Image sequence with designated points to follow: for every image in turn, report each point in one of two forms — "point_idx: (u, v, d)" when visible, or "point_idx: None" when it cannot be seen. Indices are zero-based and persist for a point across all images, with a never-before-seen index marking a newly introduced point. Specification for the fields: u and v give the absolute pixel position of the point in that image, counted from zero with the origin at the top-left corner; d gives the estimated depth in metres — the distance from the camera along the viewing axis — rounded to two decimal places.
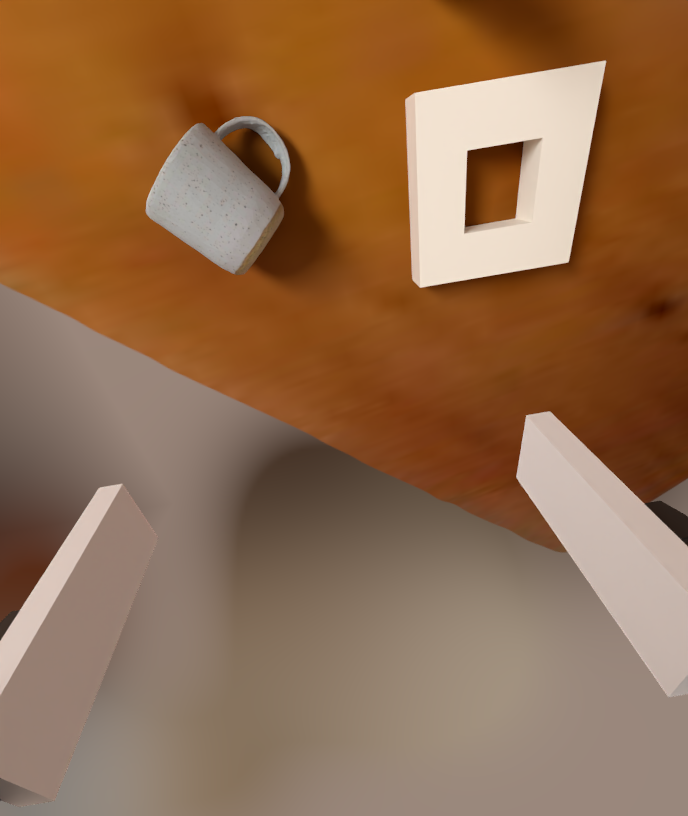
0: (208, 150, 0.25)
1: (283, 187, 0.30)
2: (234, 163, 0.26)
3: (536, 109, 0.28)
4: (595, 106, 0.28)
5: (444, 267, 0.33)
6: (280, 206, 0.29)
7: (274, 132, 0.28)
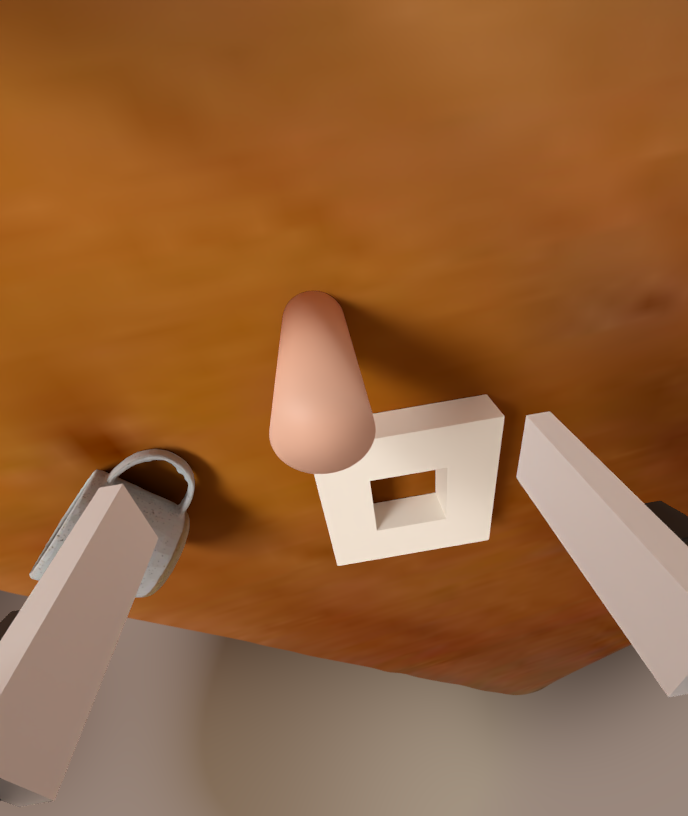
0: None
1: (187, 505, 0.29)
2: None
3: (437, 451, 0.27)
4: (498, 445, 0.27)
5: (360, 551, 0.33)
6: (180, 538, 0.28)
7: (173, 462, 0.27)
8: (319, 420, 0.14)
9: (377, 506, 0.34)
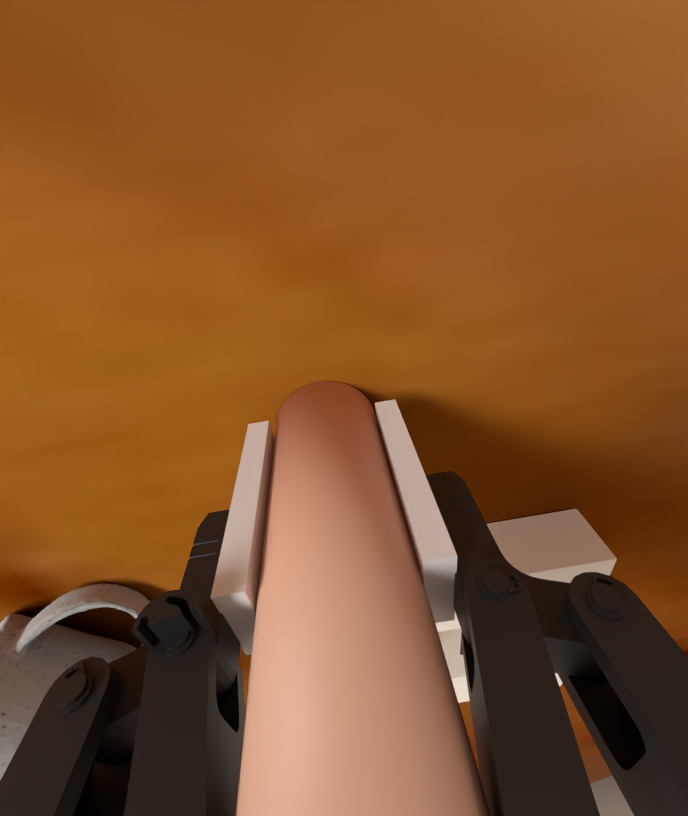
0: None
1: None
2: None
3: None
4: None
5: None
6: None
7: (122, 608, 0.18)
8: None
9: None
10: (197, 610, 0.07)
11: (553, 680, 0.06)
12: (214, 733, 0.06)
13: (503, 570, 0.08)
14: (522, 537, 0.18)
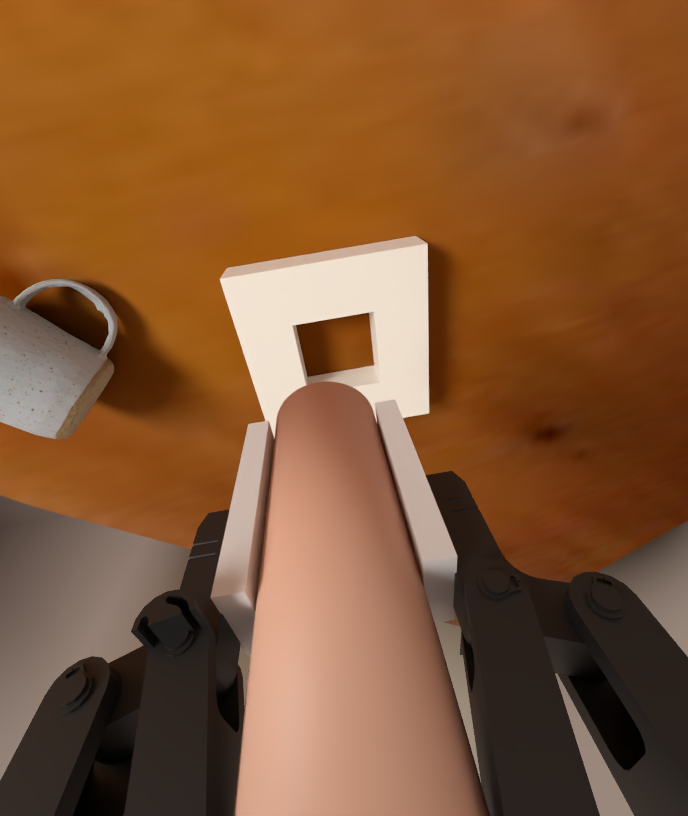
0: None
1: (107, 345, 0.27)
2: (27, 343, 0.23)
3: (360, 288, 0.26)
4: (425, 283, 0.26)
5: None
6: (97, 374, 0.26)
7: (89, 292, 0.26)
8: None
9: (313, 378, 0.32)
10: (197, 610, 0.07)
11: (553, 680, 0.06)
12: (214, 733, 0.06)
13: (503, 570, 0.08)
14: (371, 246, 0.26)
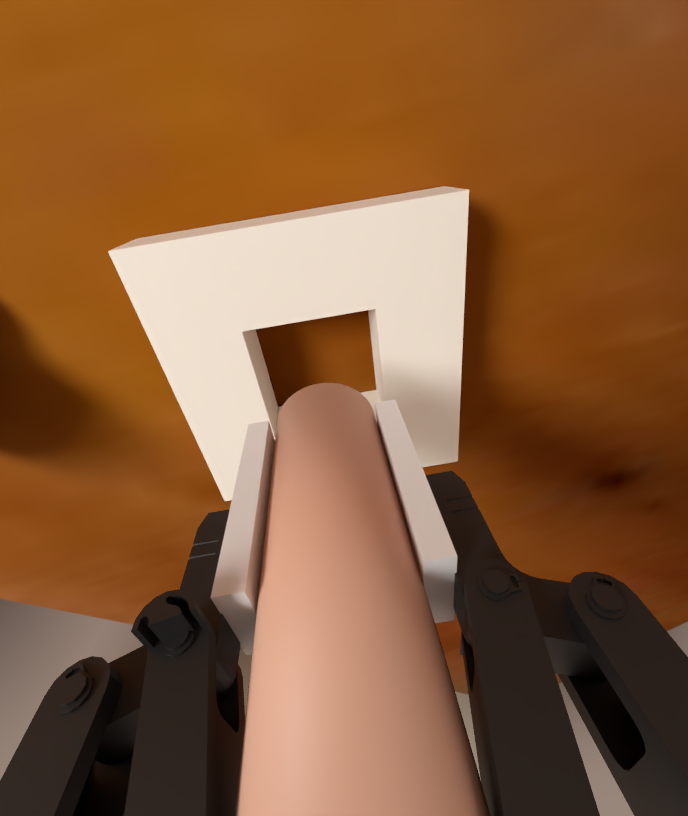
0: None
1: None
2: None
3: (353, 268, 0.15)
4: (462, 261, 0.16)
5: None
6: None
7: None
8: None
9: None
10: (197, 610, 0.07)
11: (553, 680, 0.06)
12: (214, 733, 0.06)
13: (503, 570, 0.08)
14: (372, 201, 0.16)
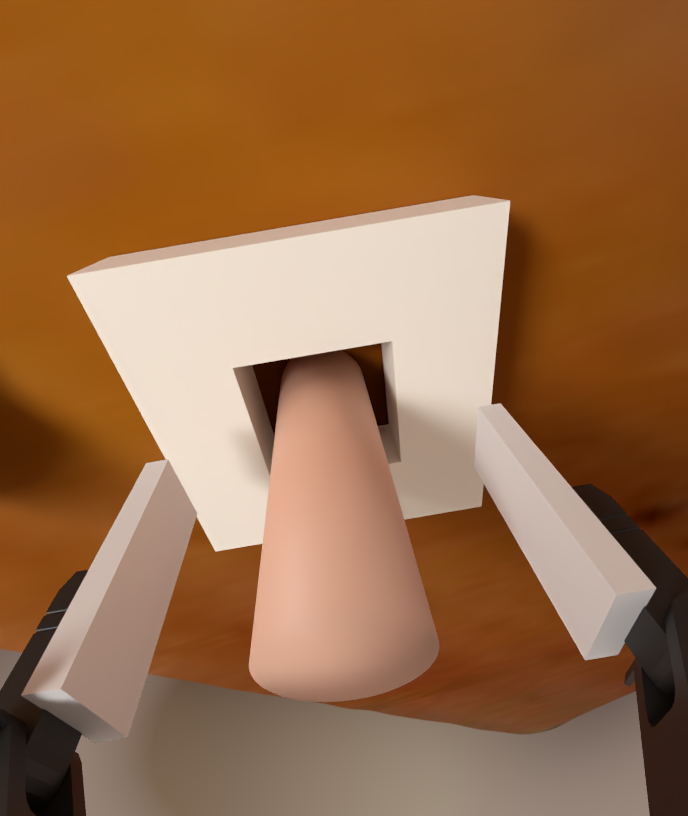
0: None
1: None
2: None
3: (366, 295, 0.13)
4: (497, 285, 0.13)
5: (250, 525, 0.18)
6: None
7: None
8: (340, 646, 0.07)
9: None
10: None
11: None
12: None
13: None
14: (389, 213, 0.13)
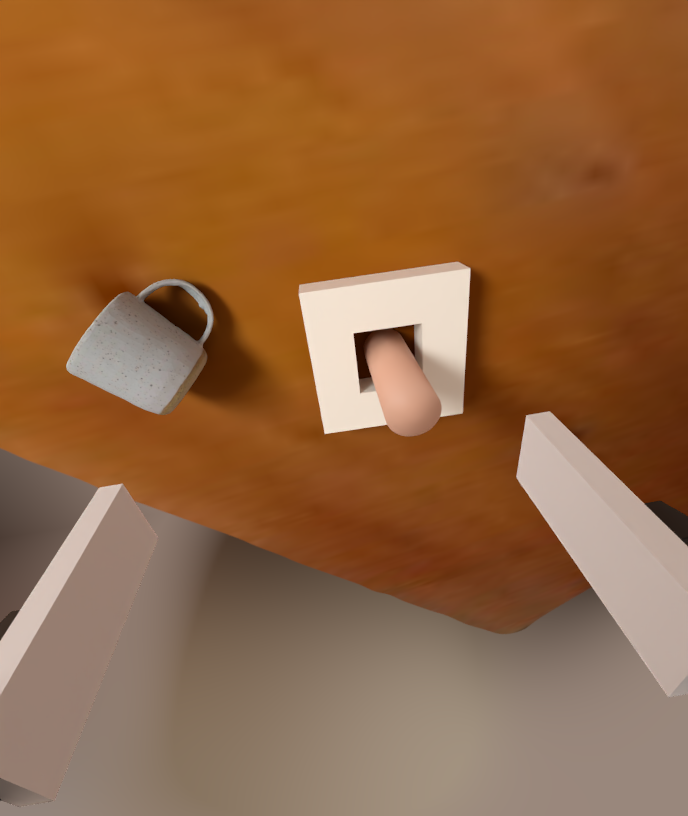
0: (122, 325, 0.27)
1: (206, 336, 0.32)
2: (151, 329, 0.28)
3: (412, 303, 0.31)
4: (466, 300, 0.31)
5: (345, 418, 0.36)
6: (199, 359, 0.30)
7: (196, 290, 0.31)
8: (412, 404, 0.25)
9: (362, 380, 0.37)
10: None
11: None
12: None
13: None
14: (422, 269, 0.31)
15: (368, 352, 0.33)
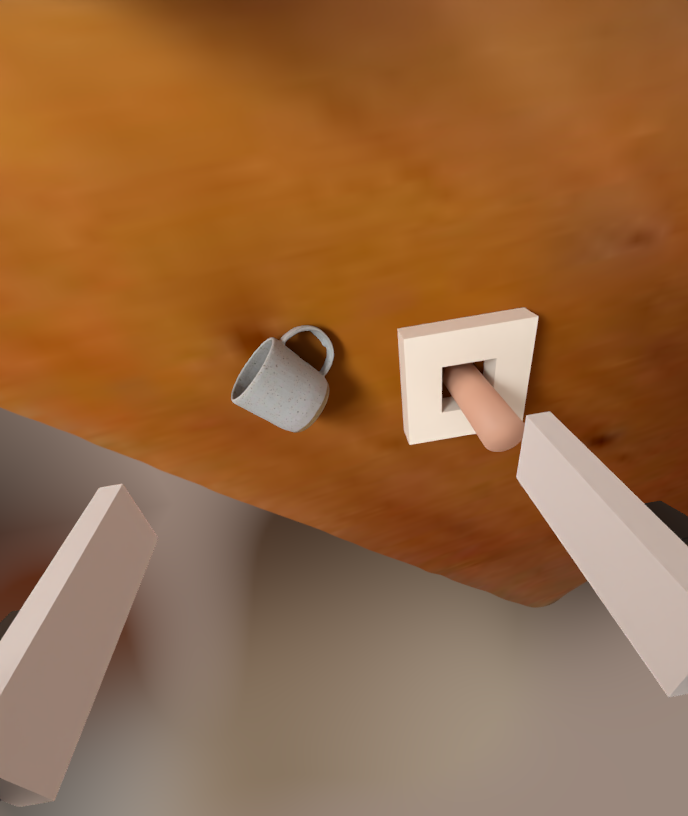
0: (281, 367, 0.35)
1: (328, 369, 0.40)
2: (297, 368, 0.36)
3: (490, 343, 0.39)
4: (533, 340, 0.39)
5: (427, 432, 0.45)
6: (327, 388, 0.38)
7: (323, 333, 0.38)
8: (504, 428, 0.34)
9: None
10: None
11: None
12: None
13: None
14: (497, 316, 0.39)
15: (451, 380, 0.41)
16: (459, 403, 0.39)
